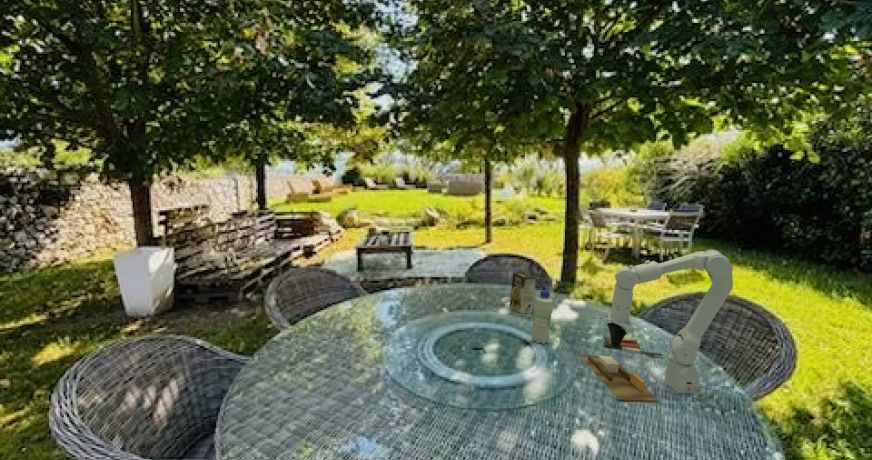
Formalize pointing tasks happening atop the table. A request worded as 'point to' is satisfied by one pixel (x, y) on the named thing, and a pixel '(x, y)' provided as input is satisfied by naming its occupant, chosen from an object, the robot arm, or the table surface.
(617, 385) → the cradle
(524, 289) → the coffee box
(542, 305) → the bottle
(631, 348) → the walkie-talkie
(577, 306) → the table surface
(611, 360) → the plug
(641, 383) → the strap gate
